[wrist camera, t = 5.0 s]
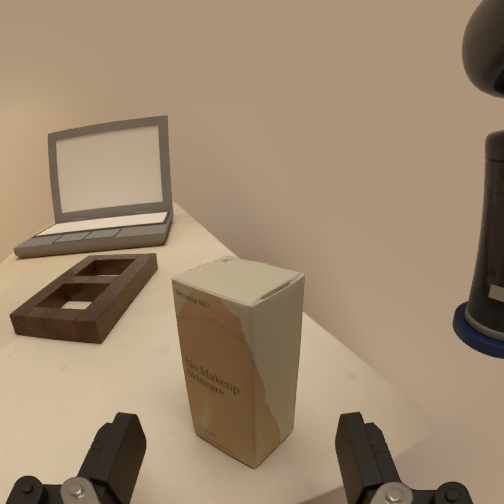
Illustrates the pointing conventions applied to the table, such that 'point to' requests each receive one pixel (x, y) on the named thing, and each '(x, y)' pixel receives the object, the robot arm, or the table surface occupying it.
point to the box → (240, 352)
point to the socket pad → (85, 298)
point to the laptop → (107, 188)
